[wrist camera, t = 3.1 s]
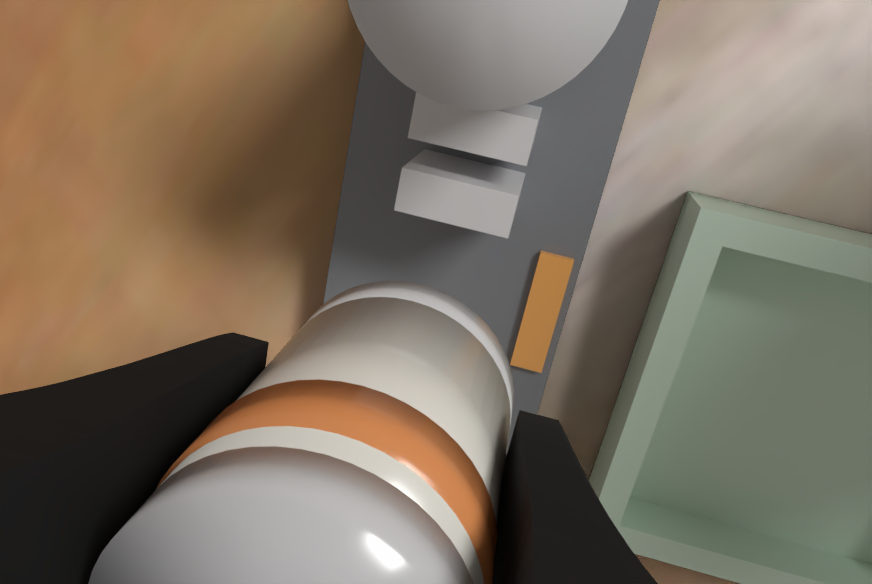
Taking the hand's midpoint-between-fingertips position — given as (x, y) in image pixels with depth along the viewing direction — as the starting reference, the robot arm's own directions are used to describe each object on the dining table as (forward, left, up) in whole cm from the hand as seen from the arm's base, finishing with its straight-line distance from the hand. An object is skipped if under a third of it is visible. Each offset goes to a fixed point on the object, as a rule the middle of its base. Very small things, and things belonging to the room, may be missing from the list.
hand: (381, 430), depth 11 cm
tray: (-9, +1, -8) cm, 12 cm away
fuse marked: (0, 0, -2) cm, 2 cm away
